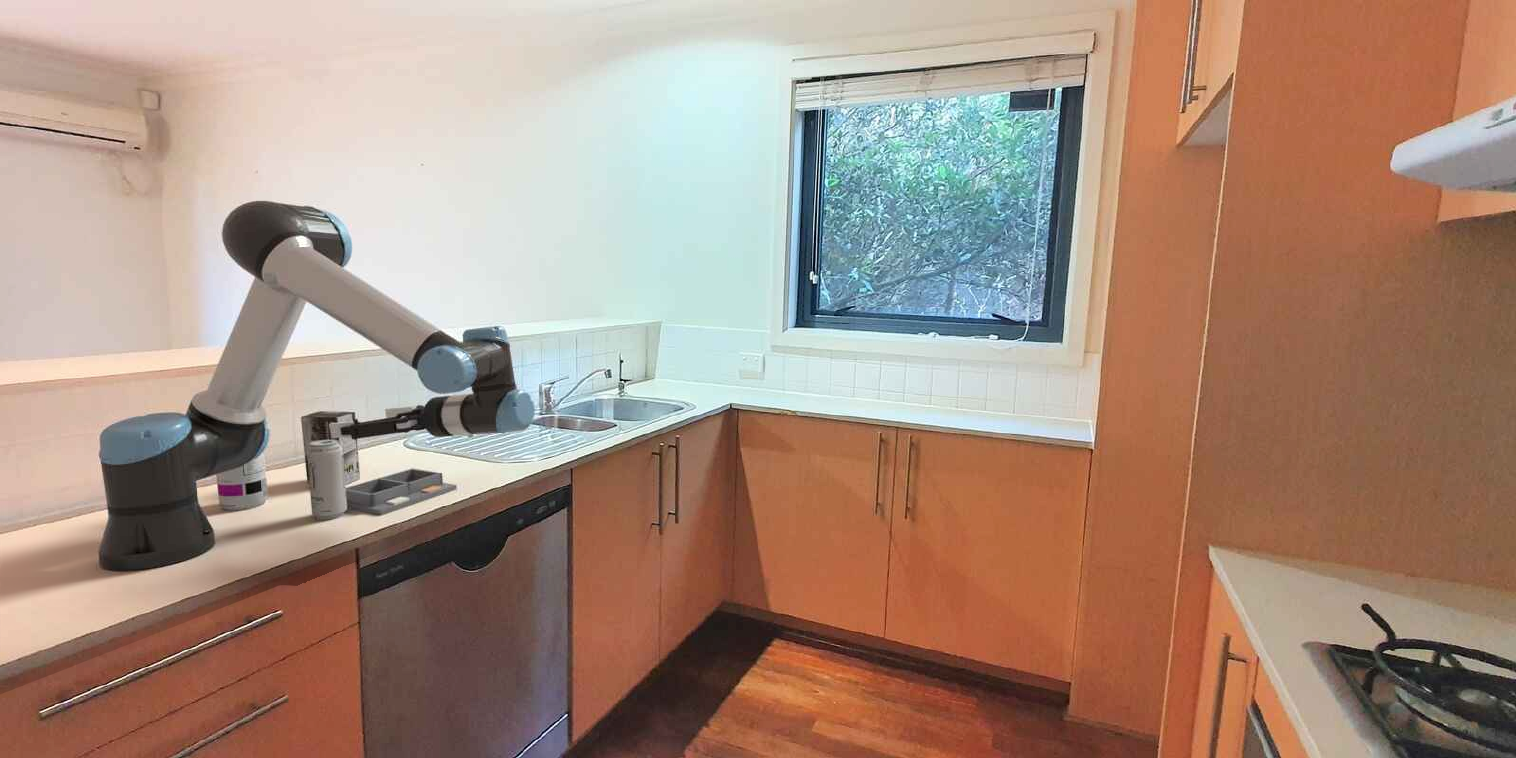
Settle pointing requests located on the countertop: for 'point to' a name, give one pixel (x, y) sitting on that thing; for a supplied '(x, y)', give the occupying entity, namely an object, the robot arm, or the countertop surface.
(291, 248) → the robot arm
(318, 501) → the energy drink can
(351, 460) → the coffee box
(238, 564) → the countertop surface
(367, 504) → the tray
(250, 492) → the supplement can
